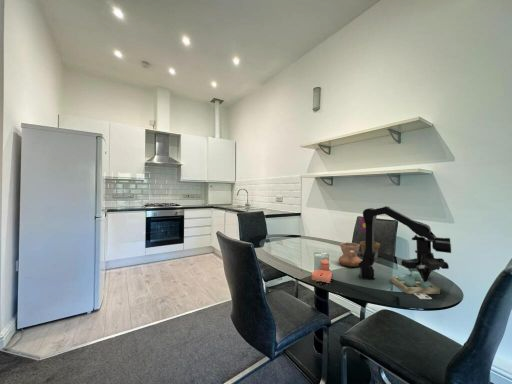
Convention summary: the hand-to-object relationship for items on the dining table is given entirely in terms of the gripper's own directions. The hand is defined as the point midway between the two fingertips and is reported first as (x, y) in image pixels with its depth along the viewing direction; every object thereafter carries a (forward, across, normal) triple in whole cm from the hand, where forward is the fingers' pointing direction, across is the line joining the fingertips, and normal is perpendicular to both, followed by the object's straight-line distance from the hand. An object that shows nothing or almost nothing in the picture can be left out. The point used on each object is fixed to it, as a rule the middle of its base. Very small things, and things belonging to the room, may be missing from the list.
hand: (424, 281), depth 109 cm
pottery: (+5, -46, +15) cm, 49 cm away
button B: (+2, -7, 0) cm, 7 cm away
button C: (+2, 0, +7) cm, 7 cm away
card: (+4, -5, -7) cm, 10 cm away
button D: (+4, 0, 0) cm, 4 cm away
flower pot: (+4, +8, +18) cm, 21 cm away
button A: (+4, -7, +7) cm, 11 cm away
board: (+4, -3, +3) cm, 6 cm away
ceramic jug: (+5, -24, +39) cm, 46 cm away
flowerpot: (+5, -2, +59) cm, 60 cm away
